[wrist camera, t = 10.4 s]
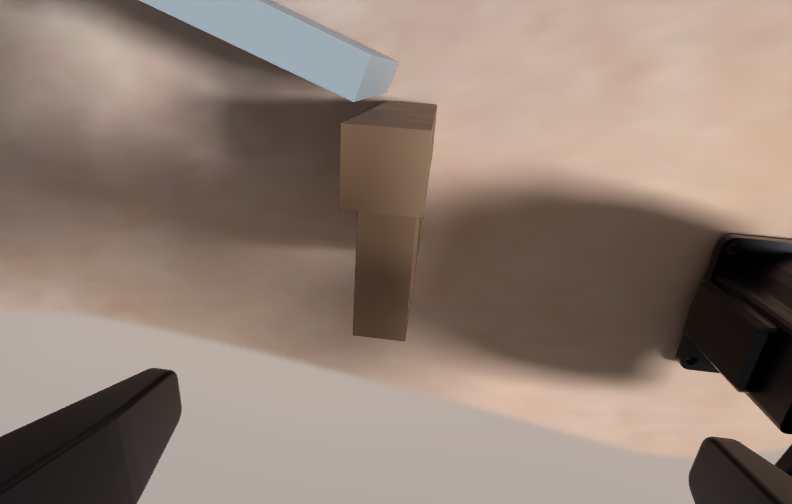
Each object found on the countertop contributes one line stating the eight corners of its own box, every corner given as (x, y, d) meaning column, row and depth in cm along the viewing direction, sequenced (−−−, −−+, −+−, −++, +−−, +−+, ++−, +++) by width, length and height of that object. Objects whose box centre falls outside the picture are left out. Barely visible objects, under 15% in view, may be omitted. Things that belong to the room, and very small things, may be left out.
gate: (398, 62, 17) (371, 54, 11) (372, 125, 18) (334, 152, 12) (104, -81, 17) (-114, -180, 10) (93, -7, 18) (-112, -55, 11)
